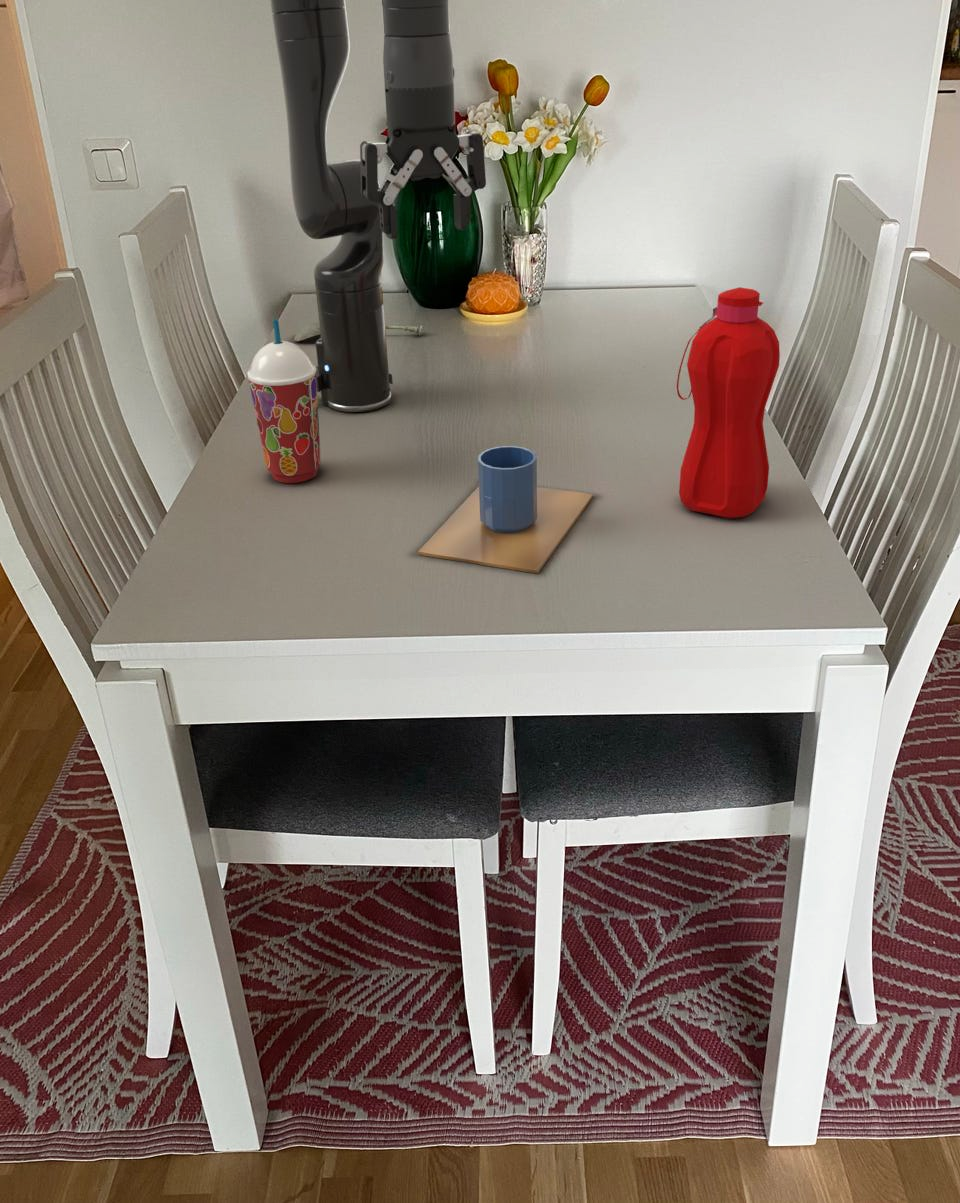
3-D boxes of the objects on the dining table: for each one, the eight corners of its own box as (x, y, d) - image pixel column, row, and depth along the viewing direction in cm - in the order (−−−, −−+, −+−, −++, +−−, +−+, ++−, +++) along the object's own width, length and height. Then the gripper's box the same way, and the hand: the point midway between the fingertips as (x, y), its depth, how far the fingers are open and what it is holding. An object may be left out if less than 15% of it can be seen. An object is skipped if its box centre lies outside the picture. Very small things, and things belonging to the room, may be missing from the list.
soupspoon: (298, 336, 199) (291, 350, 194) (294, 317, 197) (288, 331, 192) (424, 328, 198) (421, 342, 192) (422, 309, 196) (419, 322, 190)
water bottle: (685, 478, 141) (698, 273, 129) (772, 495, 136) (795, 284, 124) (656, 508, 134) (666, 294, 122) (746, 527, 129) (767, 306, 117)
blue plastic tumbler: (471, 530, 130) (469, 465, 126) (492, 506, 135) (490, 443, 131) (525, 538, 128) (524, 472, 124) (544, 513, 133) (544, 449, 129)
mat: (418, 554, 126) (417, 551, 126) (484, 482, 142) (484, 479, 142) (538, 574, 122) (538, 570, 122) (593, 497, 138) (593, 494, 137)
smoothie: (338, 465, 149) (322, 312, 138) (309, 491, 142) (290, 332, 132) (281, 458, 151) (261, 307, 141) (249, 484, 144) (226, 327, 134)
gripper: (466, 72, 130) (470, 219, 138) (345, 81, 125) (357, 233, 134) (493, 79, 124) (495, 233, 132) (367, 89, 119) (378, 247, 128)
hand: (426, 233), depth 133 cm, fingers open, 8 cm apart
